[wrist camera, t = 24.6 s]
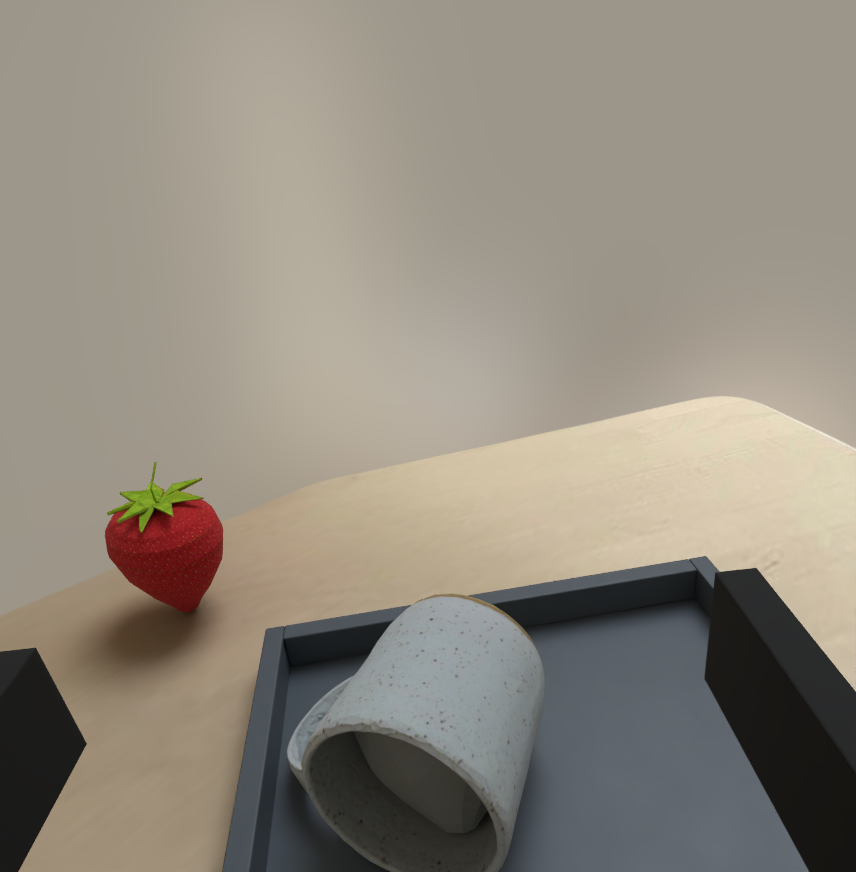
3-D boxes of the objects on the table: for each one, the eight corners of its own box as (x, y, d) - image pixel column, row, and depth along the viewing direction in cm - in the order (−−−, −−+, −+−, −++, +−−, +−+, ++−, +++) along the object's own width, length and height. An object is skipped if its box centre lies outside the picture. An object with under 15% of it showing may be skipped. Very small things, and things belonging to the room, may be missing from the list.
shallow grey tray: (702, 591, 35) (706, 555, 34) (1168, 1180, 15) (1212, 1138, 14) (275, 663, 34) (265, 628, 32) (165, 1409, 14) (128, 1383, 13)
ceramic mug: (556, 720, 28) (547, 584, 24) (514, 920, 21) (495, 767, 18) (347, 677, 32) (316, 555, 28) (254, 834, 25) (200, 696, 21)
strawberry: (192, 564, 43) (147, 435, 38) (266, 596, 39) (226, 455, 34) (113, 618, 39) (54, 479, 34) (188, 661, 34) (131, 509, 30)
